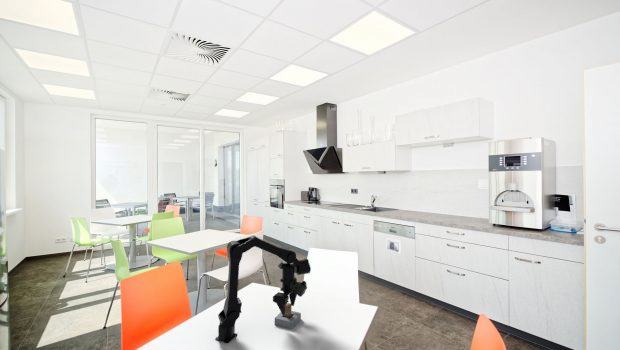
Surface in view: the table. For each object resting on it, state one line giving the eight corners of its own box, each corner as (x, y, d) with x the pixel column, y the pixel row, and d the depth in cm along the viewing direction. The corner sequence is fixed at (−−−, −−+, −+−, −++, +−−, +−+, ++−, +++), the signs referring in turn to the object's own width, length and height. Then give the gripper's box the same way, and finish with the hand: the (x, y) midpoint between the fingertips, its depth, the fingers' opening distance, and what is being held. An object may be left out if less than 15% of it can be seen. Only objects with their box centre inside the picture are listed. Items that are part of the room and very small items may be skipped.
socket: (292, 329, 121) (292, 322, 121) (274, 324, 124) (274, 318, 124) (300, 319, 129) (300, 312, 129) (284, 315, 133) (284, 309, 133)
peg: (289, 324, 125) (289, 306, 125) (283, 322, 126) (283, 305, 126) (292, 321, 128) (292, 303, 128) (286, 319, 129) (286, 302, 129)
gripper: (295, 286, 115) (294, 323, 115) (312, 272, 132) (311, 304, 132) (272, 282, 120) (272, 318, 119) (291, 269, 137) (291, 300, 137)
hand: (288, 310), depth 127 cm, fingers open, 9 cm apart
